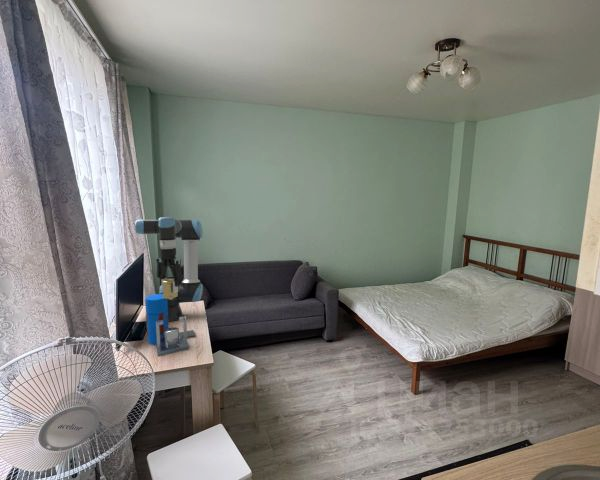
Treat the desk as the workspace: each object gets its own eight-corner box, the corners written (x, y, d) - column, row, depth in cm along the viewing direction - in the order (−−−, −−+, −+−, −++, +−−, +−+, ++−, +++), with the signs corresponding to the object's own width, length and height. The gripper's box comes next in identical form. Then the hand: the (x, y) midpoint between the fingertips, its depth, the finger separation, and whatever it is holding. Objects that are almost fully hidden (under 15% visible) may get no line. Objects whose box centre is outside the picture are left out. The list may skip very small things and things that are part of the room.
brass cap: (178, 299, 155) (177, 282, 153) (163, 301, 152) (162, 283, 150) (176, 293, 164) (176, 277, 163) (162, 295, 161) (161, 278, 160)
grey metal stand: (156, 346, 163) (154, 318, 161) (186, 340, 170) (185, 313, 168) (157, 356, 153) (155, 326, 151) (189, 349, 160) (188, 320, 158)
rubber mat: (179, 334, 178) (178, 332, 178) (193, 331, 181) (193, 329, 181) (180, 339, 171) (180, 338, 171) (195, 336, 174) (195, 335, 174)
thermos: (145, 339, 171) (143, 296, 167) (165, 334, 178) (163, 292, 174) (150, 346, 162) (148, 301, 159) (171, 340, 169) (169, 297, 166)
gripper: (147, 247, 154) (149, 291, 157) (178, 250, 148) (180, 296, 151) (158, 245, 161) (160, 287, 164) (188, 247, 155) (190, 291, 158)
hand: (170, 291), depth 158 cm, fingers closed on brass cap, 6 cm apart
